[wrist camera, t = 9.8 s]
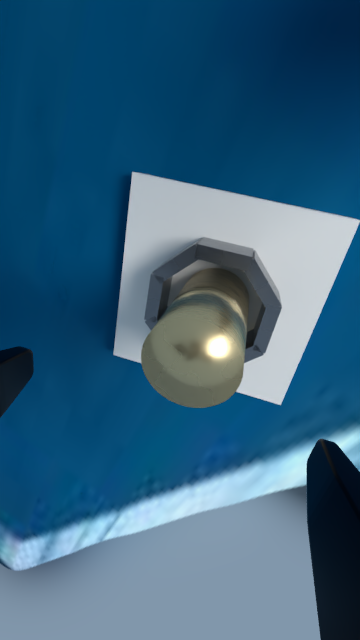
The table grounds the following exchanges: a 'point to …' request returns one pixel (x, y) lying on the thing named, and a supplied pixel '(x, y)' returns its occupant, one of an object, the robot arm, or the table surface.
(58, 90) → the table surface
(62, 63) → the table surface
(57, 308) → the table surface
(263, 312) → the socket collar
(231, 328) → the brass cylinder
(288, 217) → the socket base
